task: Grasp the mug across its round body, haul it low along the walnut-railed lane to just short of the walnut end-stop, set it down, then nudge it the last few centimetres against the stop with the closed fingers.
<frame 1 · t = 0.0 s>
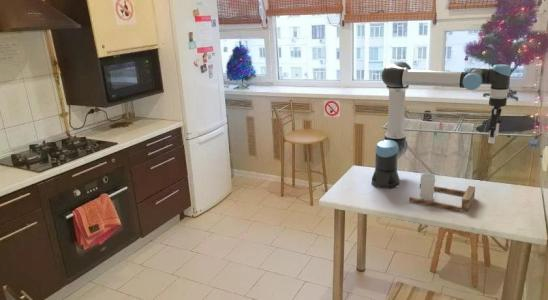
hand: (493, 139, 210), 28 cm above the table, fingers open, 13 cm apart
end stop: (467, 203, 206), on the table
mug: (426, 196, 217), on the table
guide lane: (385, 183, 235), on the table
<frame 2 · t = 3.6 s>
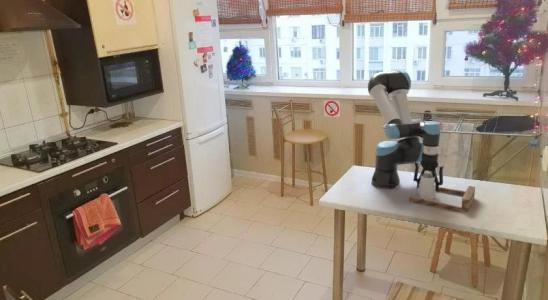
hand: (427, 195, 216), 1 cm above the table, fingers closed on mug, 7 cm apart
mug: (426, 196, 217), on the table, touching gripper
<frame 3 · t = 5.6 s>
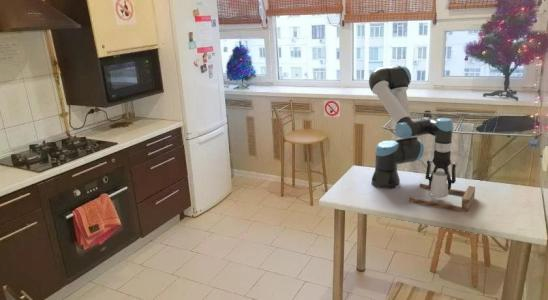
hand: (439, 193, 212), 3 cm above the table, fingers closed on mug, 6 cm apart
mug: (438, 194, 213), point 2 cm above the table, touching gripper
when the fingers open (1 cm above the table, at t = 7.1 s): mug stays where it is, on the table.
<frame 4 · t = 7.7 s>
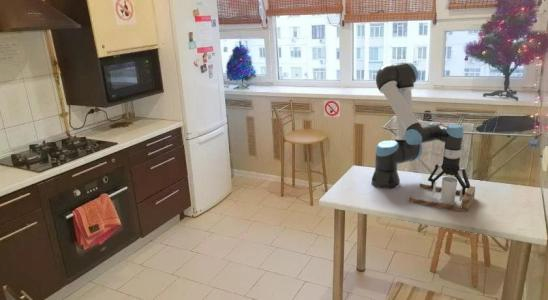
hand: (446, 197, 211), 2 cm above the table, fingers open, 12 cm apart
mug: (447, 200, 211), on the table
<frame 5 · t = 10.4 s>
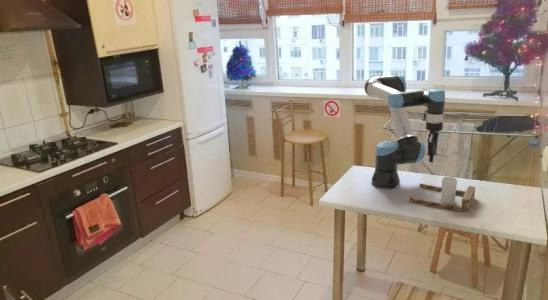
hand: (431, 167, 211), 16 cm above the table, fingers closed
nothing on the table moved.
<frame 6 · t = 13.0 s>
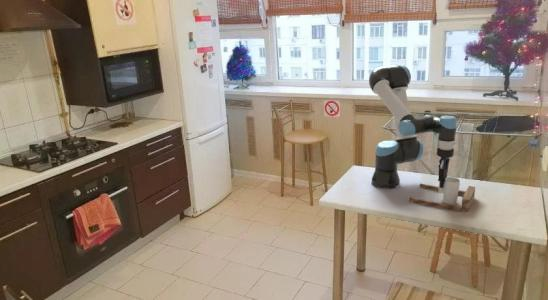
hand: (441, 192, 211), 4 cm above the table, fingers closed
mug: (449, 200, 211), on the table, touching gripper
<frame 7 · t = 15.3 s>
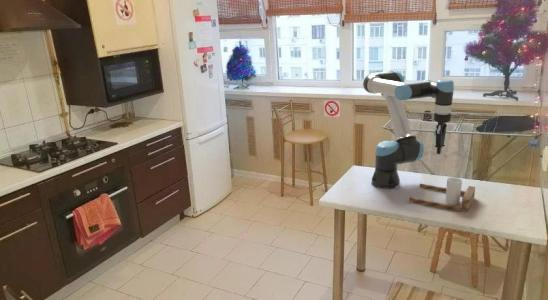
hand: (438, 159, 208), 21 cm above the table, fingers closed
mug: (452, 201, 210), on the table
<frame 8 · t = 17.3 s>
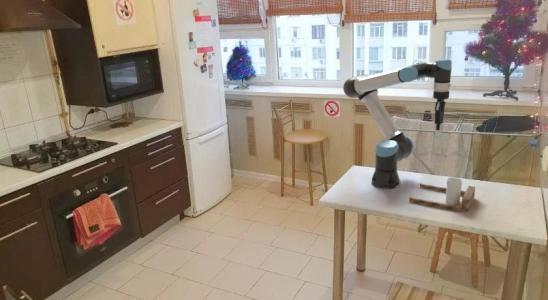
hand: (437, 135, 219), 28 cm above the table, fingers closed
nothing on the table moved.
at the end: mug inside the target area (1.8 cm from its centre), on the table; mug tilted 0°; mug moved 12.5 cm from its start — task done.
